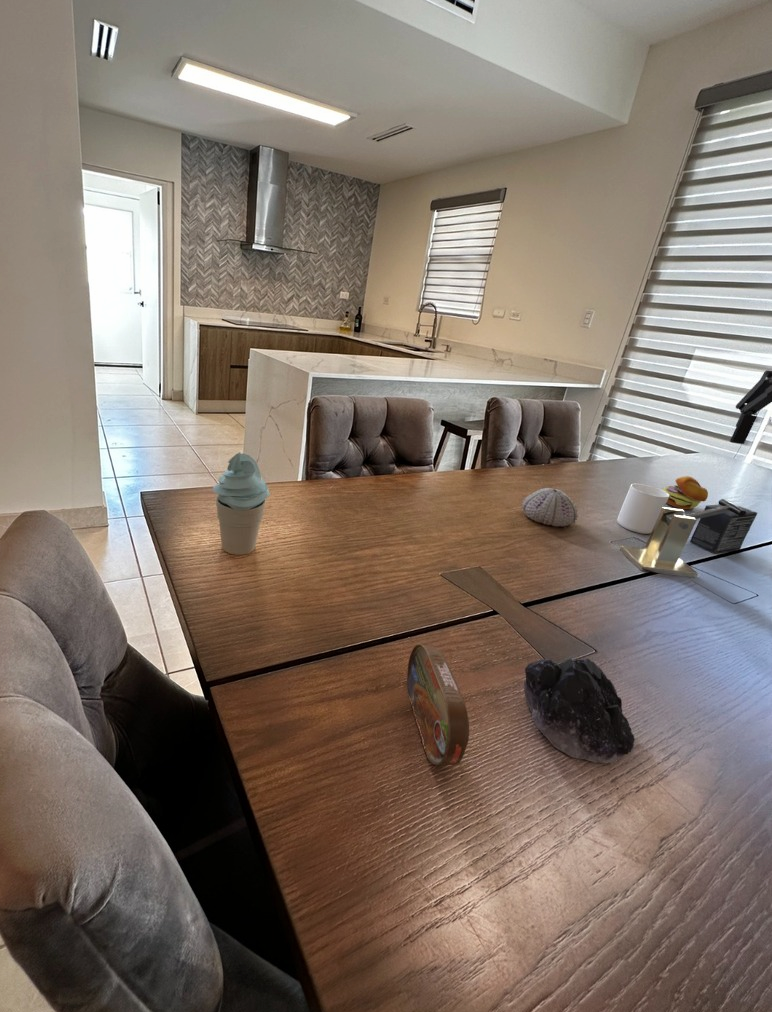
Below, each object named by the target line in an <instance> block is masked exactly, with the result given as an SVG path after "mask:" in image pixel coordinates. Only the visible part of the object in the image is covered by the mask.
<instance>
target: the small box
mask: <svg viewBox="0 0 772 1012" xmlns="http://www.w3.org/2000/svg"><path fill="white" fill-rule="evenodd" d="M733 504H734V505H736V506H737V507H739V508H741V509H743V510H745V511H746V515H745V516H742V517H740V516H738V515H737V514H735V513H733V512H731V511H730V512H726V513H721V514H717V515H712V516H708V517H704V518H699V520H698V522H697V523H696V524H697V525H696V527H695V529H694V531H693V532H692V535H691V538H690V539H689V543H690V544H693V545H695V546H697V547H699V548H701V549H703V550H705V551H707V552H710V553H712V554H714V555H715V554H720V553H728V552H734V551H740V550H741V547H742V546H743V543H744V541H745V539H746V536H747V535H748V533H749V531H750V529H751V527H752V525H753V523H754V521H755V520H756V517H757V515H758V512H756V511H753V510H751V509H748V508H745V507H743V506H740V505H737V504H735V503H733ZM717 507H722V506H721V505H719V503H718V504H710V505H709V504H708V505H705V507H704V509H703V511H705V510H709V509H713V508H717Z"/></svg>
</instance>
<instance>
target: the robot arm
mask: <svg viewBox="0 0 772 1012" xmlns="http://www.w3.org/2000/svg"><path fill="white" fill-rule="evenodd" d="M770 404H772V370H768V369H767V370H765V371H764V372H763V373H762V375H761V377H760V379H759V380H758V381H757V382H756V383H755V385H753V386H752V388H751V389H750V390H748V392H747V393H746V394H745V395H744V396H743V397H742V398H741V399H740V400H739V402H737V404H736V405H735V409H737V410H739V412H740V415H739V417H738V420H737V422H736V424H735V429H734V431H733V433H732V435H731V438H730V439H729V442H730V443H732V444H741V445H744V444H745V443H746V440H747V439H748V437H749V434H750V432H751V430H752V428H753V426H754V424H755V422H756V419H757V418H758V412H760V411H761V410H763V409H765V408H766V407H767V406H768V405H770Z"/></svg>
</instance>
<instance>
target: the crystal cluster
mask: <svg viewBox="0 0 772 1012" xmlns="http://www.w3.org/2000/svg"><path fill="white" fill-rule="evenodd" d="M524 673H525V679H524V682H523V693H524V696H525V699H524V700H525V705H526V707H528V709H529V708H530V709H529V710H530V712H531V715H532V716H531V719H532V720H533V722H534V726H535V727H536V728H537V729H538V730H539V731H540V732H541V733H542V735H543V736H544V737H545V738H547V740H548V742H549V743H550V744H551V745H552V746H553V747H554V748H555V749H557V750H559V751H560V752H562V753H564V754H566V755H567V756H569V757H570V758H572V759H581V760H586V761H589V762H591V763H594V764H596V763H601V764H610V763H613V764H615V763H616V762H617V761H620V760H621V759H622V758H623V757H624V756H625V755H629V753H631V752H632V750H633V749H634V747H635V744H634V743H635V735H634V734H633V732H632V728H631V727H630V722H629V720H628V719H627V717H626V716H625V715H624V712H623V701H622V697H620V696H619V695H618V691H617V689H616V688H615V685H614V684H613V682H612V681H611V680H610V679H609V678H607V675H606V674H605V673H604V671H603V670H602V669H601V667H600V666H598V665H597V664H596V663H595V662H594V661H592V660H590V659H589V658H581V659H577V658H573V657H572V658H569V659H566V660H564V661H562V662H560V663H558V662H555V661H553V660H552V659H550V658H541V659H539V660H535V661H533V662H532V661H531V662H530V663H529V664H528V665H526V666H525V667H524ZM616 760H617V761H616Z"/></svg>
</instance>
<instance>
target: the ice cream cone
mask: <svg viewBox="0 0 772 1012" xmlns="http://www.w3.org/2000/svg"><path fill="white" fill-rule="evenodd" d="M227 463H228V466H227V470H225V471H223V472H222V474H223V475H221V476H220V477H219V478H218V483H217V484H215V485H214V486H213V487H212V491H213V493H215V494H216V495H217V496H216V499H215V506H216V515H217V519H218V523H219V532H220V543H221V548H222V550H223V551H224V552H226V553H227V552H228V554H231V555H234V554H235V556H242V555H243V556H244V555H248V554H250V553H252V552H254V551H255V549H256V546H257V541H258V535H259V531H260V526H261V522H262V520H263V517H264V511H265V508H266V499H268V498H269V497H270V495H271V492H270V490H269V489H268V488H269V486H268V484H267V483H266V481H265V480H264V478H263V477H262V474H261V471H260V470H261V469H260V468H259V465H258V463H257V461H256V460H255V458H254V457H252V456H251V455H249V454H246V453H241V451H239V452H238V453H236V454H235V455H233V456H232V457H231V458H230V459H228V460H227Z"/></svg>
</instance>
